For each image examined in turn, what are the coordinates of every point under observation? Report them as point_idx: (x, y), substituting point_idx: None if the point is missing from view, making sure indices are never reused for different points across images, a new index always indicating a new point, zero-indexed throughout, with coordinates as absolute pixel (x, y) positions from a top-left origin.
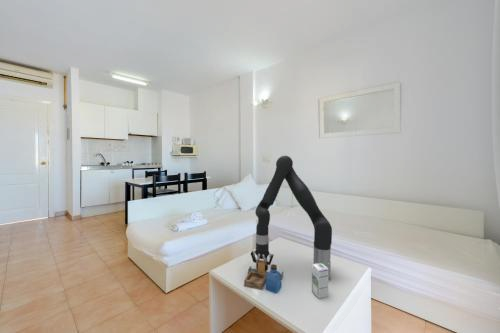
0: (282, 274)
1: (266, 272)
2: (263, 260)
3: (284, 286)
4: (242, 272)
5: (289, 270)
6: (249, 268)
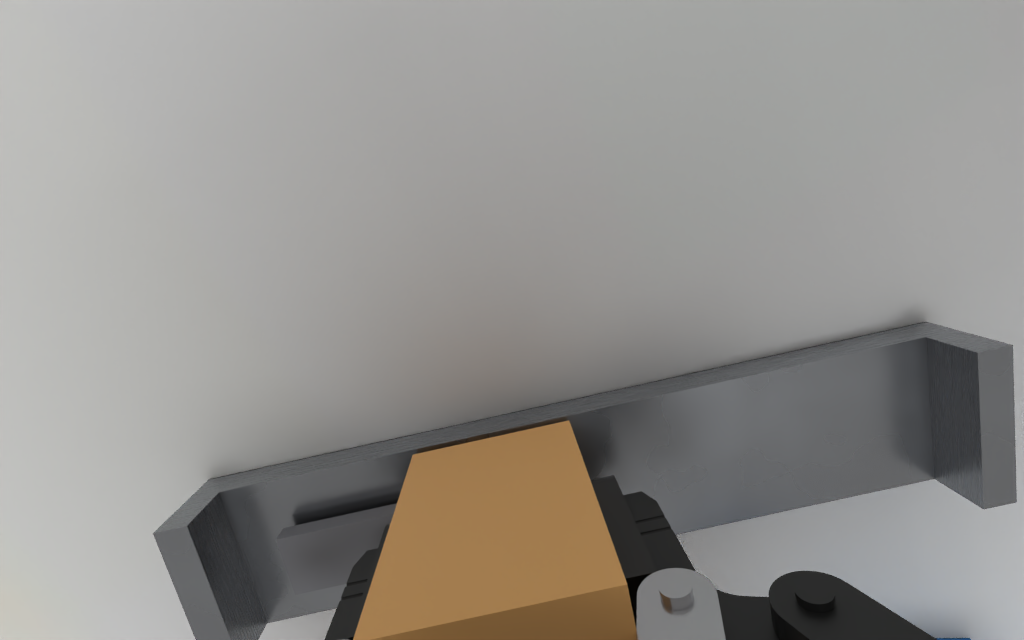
0: (1004, 433)
1: (594, 451)
2: (513, 613)
3: (1014, 596)
4: (136, 624)
5: (1015, 6)
6: (212, 628)
